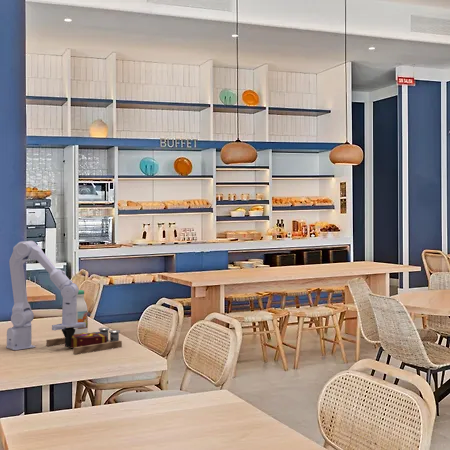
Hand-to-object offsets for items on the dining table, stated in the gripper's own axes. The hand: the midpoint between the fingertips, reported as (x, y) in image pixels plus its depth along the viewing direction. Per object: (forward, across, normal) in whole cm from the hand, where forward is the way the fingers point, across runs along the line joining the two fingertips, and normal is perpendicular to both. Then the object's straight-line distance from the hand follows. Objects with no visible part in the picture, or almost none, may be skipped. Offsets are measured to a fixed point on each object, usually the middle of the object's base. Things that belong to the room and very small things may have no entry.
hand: (68, 346), depth 277 cm
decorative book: (+1, +8, +1) cm, 9 cm away
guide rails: (+1, +7, 0) cm, 7 cm away
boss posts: (+1, +20, 0) cm, 20 cm away
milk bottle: (+1, +21, +27) cm, 34 cm away
